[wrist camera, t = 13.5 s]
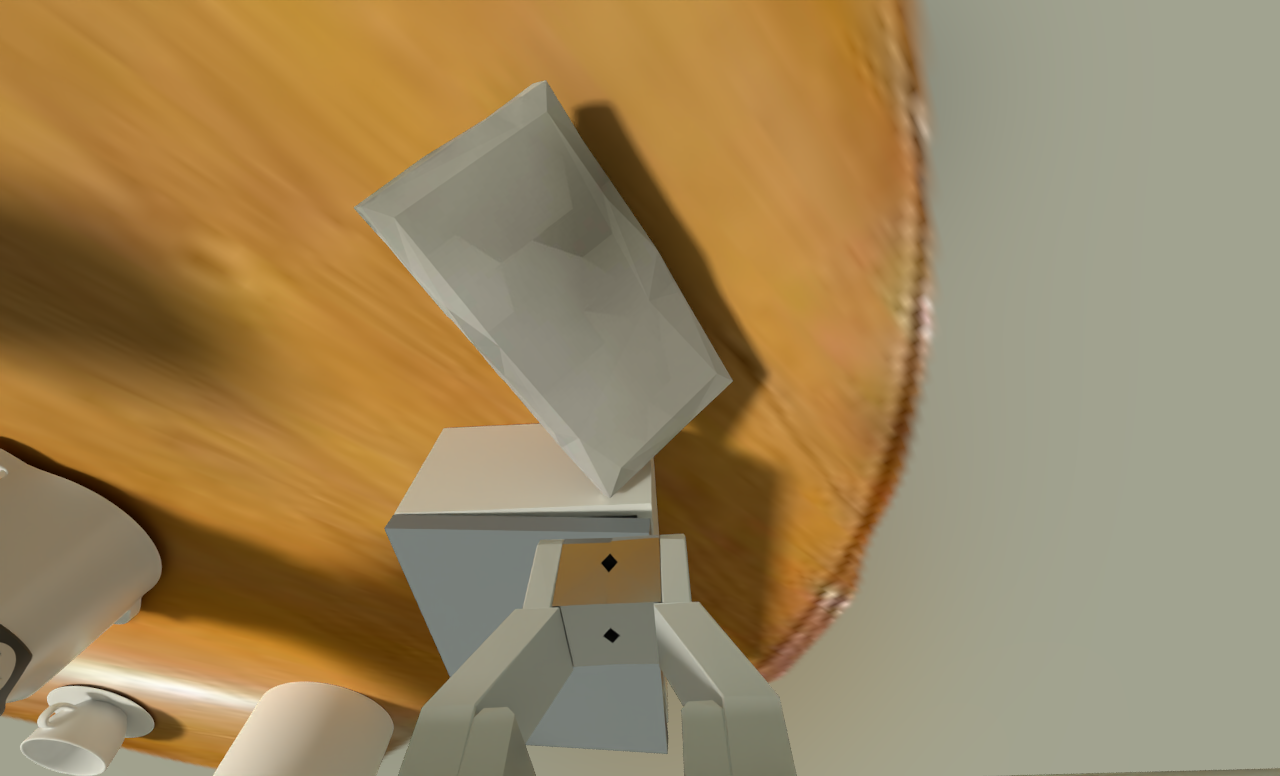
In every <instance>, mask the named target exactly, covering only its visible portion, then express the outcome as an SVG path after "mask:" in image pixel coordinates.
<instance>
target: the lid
mask: <svg viewBox="0 0 1280 776" xmlns="http://www.w3.org/2000/svg"><path fill="white" fill-rule="evenodd" d="M384 529H385V531H386V533H387V536H388V538H389V540H390V542H391V545H392V547H393V549H394V551H395V554H396V556H397V558H398V561H399V563H400V565H401V567H402V570H403V572H404V574H405V576H406V579H407V581H408V583H409V585H410V588H411V590H412V592H413V594H414V597H415V599H416V601H417V603H418V606H419V608H420V610H421V612H422V615H423V617H424V619H425V622H426V624H427V626H428V628H429V631H430V633H431V635H432V637H433V640H434V642H435V644H436V646H437V649H438V651H439V653H440V655H441V658H442V660H443V662H444V664H445V667H446V669H447V671H448V674H449V676H450V677H451V676H452V675H453V674H454V673H455V672H456V671H457V670H458V669H459V668H460V667H461V666H462V665H463V664H464V663H465V662H466V661H467V659H468V658H469V657H470V656H471V655H472V654H473V653H474V652H475V651H476V650H477V649H478V648H479V647H480V646H481V645H482V644H483V643H484V641H485V640H486V639H487V638H488V637H489V636H490V635H491V634H492V633H493V632H494V631H495V630H496V629H497V628H498V627H499V626H500V625H501V624H502V622H503V621H504V620H505V619H506V618H507V617H508V616H509V615H510V614H511V613H512V612H513V611H514V610H515V609H523V604H524V600H525V596H526V591H527V587H528V583H529V578H530V574H531V569H532V565H533V561H534V556H535V552H536V548H537V545H538V543H539V542H540V540H556V539H585V538H612V537H628V536H645V535H652V531H651V518H592V517H520V516H448V515H393V516H392V518H391V519H390V521H389V522H388V524H387V525H386V527H385V528H384ZM525 745H536V746H551V747H568V748H583V749H599V750H615V751H630V752H646V753H663V754H667V753H668V731H667V718H666V705H665V693H664V680H663V672H662V670H661V668H660V667H659V664H613V665H597V666H582V667H573V671H572V673H571V674H570V676H569V677H568V679H567V681H566V682H565V684H564V685H563V687H562V688H561V690H560V691H559V693H558V694H557V696H556V697H555V699H554V701H553V702H552V704H551V705H550V707H549V708H548V710H547V711H546V713H545V714H544V716H543V717H542V719H541V721H540V722H539V724H538V725H537V727H536V728H535V730H534V731H533V733H532V734H531V736H530V738H529V739H528V741H527V742H526V744H525Z"/></svg>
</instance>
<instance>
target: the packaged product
mask: <svg viewBox="0 0 1280 776" xmlns="http://www.w3.org/2000/svg"><path fill="white" fill-rule="evenodd" d="M354 209H355V210H356V211H357V212H358V213H359V214H360V216H361V217H362V218H363V219H364V220H365V221H366V222H367V223H368V225H369V226H370V227H371V228H372V229H373V230H374V231H375V232H376V233H377V235H378V236H379V237H380V238H381V239H382V240H383V241H384V242H385V243H386V244H387V245H388V246H389V248H390V249H391V250H392V251H393V253H394V254H395V255H396V256H397V258H398V259H399V260H400V261H401V262H402V264H403V265H404V266H405V267H406V268H407V270H408V271H409V272H410V273H411V274H412V275H413V277H414V278H415V279H416V280H417V281H418V283H419V284H420V285H421V286H422V287H423V288H424V290H425V291H426V292H427V293H428V294H429V295H430V297H431V298H432V299H433V300H434V301H435V303H436V304H437V305H438V306H439V307H440V308H441V310H442V311H443V312H444V313H445V314H446V315H447V316H448V317H449V318H450V319H451V320H452V321H453V322H454V323H455V324H456V325H457V326H458V328H459V329H460V330H461V331H462V332H463V333H464V335H465V336H466V337H467V338H468V339H469V340H470V341H471V343H472V344H473V345H474V346H475V347H476V348H477V349H478V351H479V352H480V353H481V354H482V355H483V357H484V358H485V359H486V361H487V362H488V363H489V364H490V365H491V367H492V368H493V369H494V370H495V371H496V373H497V374H498V375H499V376H500V377H501V378H502V379H503V380H504V381H505V382H506V383H507V384H508V386H509V387H510V388H511V389H512V390H513V392H514V393H515V394H516V395H517V396H518V398H519V399H520V400H521V401H522V402H523V403H524V405H525V406H526V407H527V408H528V409H529V411H530V412H531V413H532V414H533V415H534V416H535V418H536V419H537V420H538V421H539V422H540V424H541V425H542V426H543V427H544V428H545V429H546V431H547V432H548V433H549V434H550V435H551V437H552V438H553V439H554V440H555V441H556V443H557V444H558V445H559V446H560V447H561V448H562V450H563V451H564V452H565V453H566V454H567V455H568V456H569V457H570V458H571V459H572V461H573V462H574V463H575V464H576V465H577V466H578V467H579V468H580V469H581V471H582V472H583V473H584V474H585V475H586V476H587V477H588V478H589V479H590V480H591V482H592V483H593V484H594V485H595V486H596V487H597V488H598V489H599V490H600V492H601V493H602V494H604V495H606V496H607V497H609V498H611V497H612V496H613V495H614V494H615V493H616V492H617V491H618V490H619V489H620V488H622V487H623V486H624V485H625V484H626V483H627V482H628V481H629V480H630V479H631V478H632V477H633V476H634V475H635V474H636V473H637V472H638V471H639V470H640V469H642V468H643V467H644V466H645V465H646V464H647V463H648V462H649V461H650V460H651V459H652V458H653V457H654V456H655V455H656V454H657V453H658V452H659V451H660V450H661V449H662V448H663V447H664V446H665V445H666V444H667V443H668V442H669V441H670V440H672V439H673V438H674V437H675V436H676V435H677V434H678V433H679V432H680V431H681V430H682V429H683V428H684V427H685V426H686V425H687V424H688V423H689V422H690V421H691V420H692V419H693V418H694V417H695V416H697V415H698V414H699V413H700V412H701V411H702V410H703V409H704V408H705V407H706V406H707V405H708V404H709V403H710V402H711V401H712V400H714V399H715V398H716V397H717V396H718V395H719V394H720V393H721V392H722V391H723V390H724V389H725V388H726V387H727V386H728V385H729V384H731V383H732V382H733V380H732V378H731V377H730V375H729V373H728V372H727V370H726V368H725V366H724V365H723V363H722V361H721V359H720V358H719V356H718V354H717V353H716V351H715V349H714V347H713V346H712V344H711V342H710V341H709V339H708V337H707V335H706V334H705V332H704V330H703V329H702V327H701V325H700V323H699V322H698V320H697V318H696V317H695V315H694V313H693V311H692V310H691V308H690V306H689V305H688V303H687V301H686V299H685V298H684V296H683V294H682V293H681V291H680V289H679V287H678V285H677V284H676V282H675V280H674V278H673V277H672V275H671V273H670V271H669V270H668V268H667V266H666V264H665V262H664V261H663V259H662V257H661V255H660V254H659V252H658V250H657V249H656V247H655V246H654V244H653V243H652V241H651V240H650V238H649V237H648V235H647V234H646V232H645V231H644V229H643V228H642V227H641V225H640V224H639V222H638V221H637V219H636V218H635V216H634V215H633V213H632V212H631V210H630V209H629V207H628V206H627V204H626V203H625V201H624V200H623V199H622V197H621V196H620V194H619V193H618V191H617V190H616V188H615V187H614V185H613V184H612V182H611V181H610V180H609V178H608V177H607V175H606V174H605V172H604V171H603V169H602V168H601V166H600V165H599V163H598V162H597V160H596V159H595V158H594V156H593V155H592V153H591V152H590V150H589V149H588V147H587V146H586V144H585V143H584V141H583V140H582V138H581V137H580V135H579V133H578V132H577V130H576V128H575V127H574V125H573V124H572V122H571V120H570V119H569V117H568V115H567V114H566V112H565V110H564V109H563V107H562V106H561V104H560V102H559V101H558V99H557V97H556V96H555V94H554V92H553V91H552V89H551V88H550V86H549V84H548V83H547V81H546V80H545V81H541V82H537V83H533V84H532V85H530V86H529V87H528V88H526V89H525V90H524V91H522V92H521V93H520V94H518V95H517V96H516V97H514V98H513V99H512V100H510V101H509V102H508V103H506V104H505V105H503V106H502V107H501V108H499V109H498V110H497V111H495V112H494V113H493V114H491V115H490V116H489V117H487V118H486V119H485V120H483V121H481V122H480V123H478V124H477V125H475V126H473V127H472V128H470V129H468V130H467V131H465V132H463V133H462V134H460V135H459V136H457V137H455V138H454V139H452V140H450V141H449V142H447V143H446V144H444V145H442V146H441V147H439V148H437V149H436V150H434V151H433V152H431V153H429V154H428V155H426V156H424V157H423V158H422V159H420V160H419V161H417V162H416V163H415V164H413V165H412V166H410V167H409V168H408V169H406V170H405V171H404V172H402V173H401V174H399V175H398V176H397V177H395V178H394V179H393V180H391V181H390V182H388V183H387V184H386V185H384V186H383V187H381V188H380V189H379V190H377V191H376V192H375V193H373V194H372V195H370V196H369V197H368V198H366V199H365V200H363V201H362V202H361V203H359V204H358V205H357V206H355V207H354Z"/></svg>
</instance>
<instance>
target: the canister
mask: <svg viewBox="0 0 1280 776" xmlns="http://www.w3.org/2000/svg"><path fill="white" fill-rule="evenodd" d="M393 730H394V725H393V721H392V719H391V717H390V715H389V714H388V713H387V712H386V711H385V709H383V708H382V707H381V706H380V705H379V704H377V703H376V702H375V701H373V700H371V699H370V698H368V697H366V696H364V695H362V694H360V693H358V692H355V691H352V690H350V689H347V688H343V687H340V686H336V685H331V684H326V683H319V682H292V683H286V684H282V685H278V686H276V687H273V688H271V689H270V690H268V691H267V692H266V693H265V694H264V695H263V696H262V697H261V699H260V701H259V702H258V704H257V706H256V707H255V709H254V710H253V712H252V714H251V715H250V717H249V718H248V720H247V722H246V723H245V725H244V726H243V728H242V730H241V731H240V733H239V734H238V736H237V738H236V739H235V741H234V742H233V744H232V746H231V747H230V749H229V751H228V752H227V754H226V755H225V757H224V759H223V760H222V762H221V763H220V765H219V767H218V768H217V770H216V771H215V773H214V775H213V776H376V775H377V772H378V770H379V767H380V764H381V762H382V759H383V757H384V754H385V752H386V749H387V747H388V744H389V741H390V739H391V736H392V734H393Z"/></svg>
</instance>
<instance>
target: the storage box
mask: <svg viewBox="0 0 1280 776" xmlns="http://www.w3.org/2000/svg"><path fill="white" fill-rule="evenodd" d="M395 515H448V516H520V517H592V518H651V531H652V535H659V525H658V510H657V496H656V482H655V468H654V457H653V458H652V459H651V460H650V461H649V462H648V463H647V464H646V465H645V466H644V467H643V468H642V469H640V470H639V471H638V472H637V473H636V474H635V475H634V476H633V477H632V478H631V479H630V480H629V481H628V482H627V483H626V484H625V485H624V486H623V487H622V488H620V489H619V490H618V491H617V492H616V493H615V494H614V495H613V496H612V497H611V498H609V497H607V496H606V495H604V494H602V493H601V492H600V490H599V489H598V488H597V487H596V486H595V485H594V484H593V483H592V482H591V480H590V479H589V478H588V477H587V476H586V475H585V474H584V473H583V472H582V471H581V469H580V468H579V467H578V466H577V465H576V464H575V463H574V462H573V461H572V459H571V458H570V457H569V456H568V455H567V454H566V453H565V452H564V451H563V450H562V448H561V447H560V446H559V445H558V444H557V443H556V441H555V440H554V439H553V438H552V437H551V435H550V434H549V433H548V432H547V431H546V429H545V428H544V427H543V426H542V425H541V424H521V425H500V426H479V427H458V428H444V429H443V431H442V432H441V434H440V436H439V438H438V439H437V441H436V443H435V444H434V446H433V448H432V450H431V451H430V453H429V455H428V457H427V458H426V460H425V462H424V463H423V465H422V467H421V469H420V470H419V472H418V474H417V475H416V477H415V479H414V481H413V482H412V484H411V486H410V488H409V489H408V491H407V493H406V494H405V496H404V498H403V500H402V501H401V503H400V505H399V506H398V508H397V510H396V512H395ZM663 680H664V693H665V705H666V718H667V723H668V698H667V697H668V695H667V678H666V677H665V675H664V673H663Z"/></svg>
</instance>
